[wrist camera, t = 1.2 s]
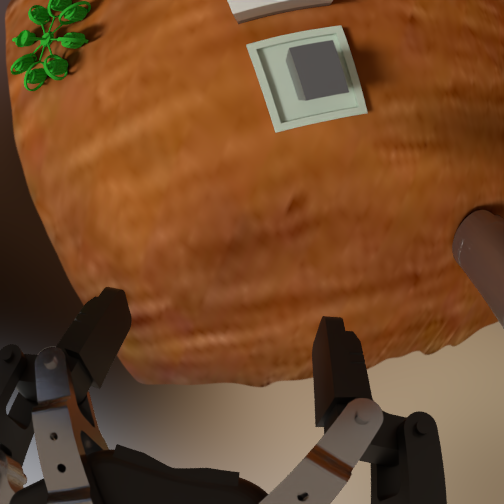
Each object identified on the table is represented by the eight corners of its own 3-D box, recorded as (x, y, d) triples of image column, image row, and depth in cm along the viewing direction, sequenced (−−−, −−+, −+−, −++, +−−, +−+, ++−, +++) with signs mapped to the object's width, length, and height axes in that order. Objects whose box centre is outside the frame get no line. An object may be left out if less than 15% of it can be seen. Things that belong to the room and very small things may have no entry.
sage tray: (339, 28, 21) (341, 25, 20) (364, 112, 26) (367, 113, 25) (247, 46, 23) (245, 44, 22) (275, 131, 28) (275, 132, 27)
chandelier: (16, 40, 20) (-15, 41, 14) (84, -26, 16) (54, -37, 10) (38, 109, 27) (4, 118, 21) (112, 44, 23) (78, 39, 17)
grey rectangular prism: (318, 54, 23) (332, 39, 16) (330, 93, 25) (349, 92, 18) (285, 60, 24) (288, 48, 17) (298, 99, 26) (306, 100, 19)
